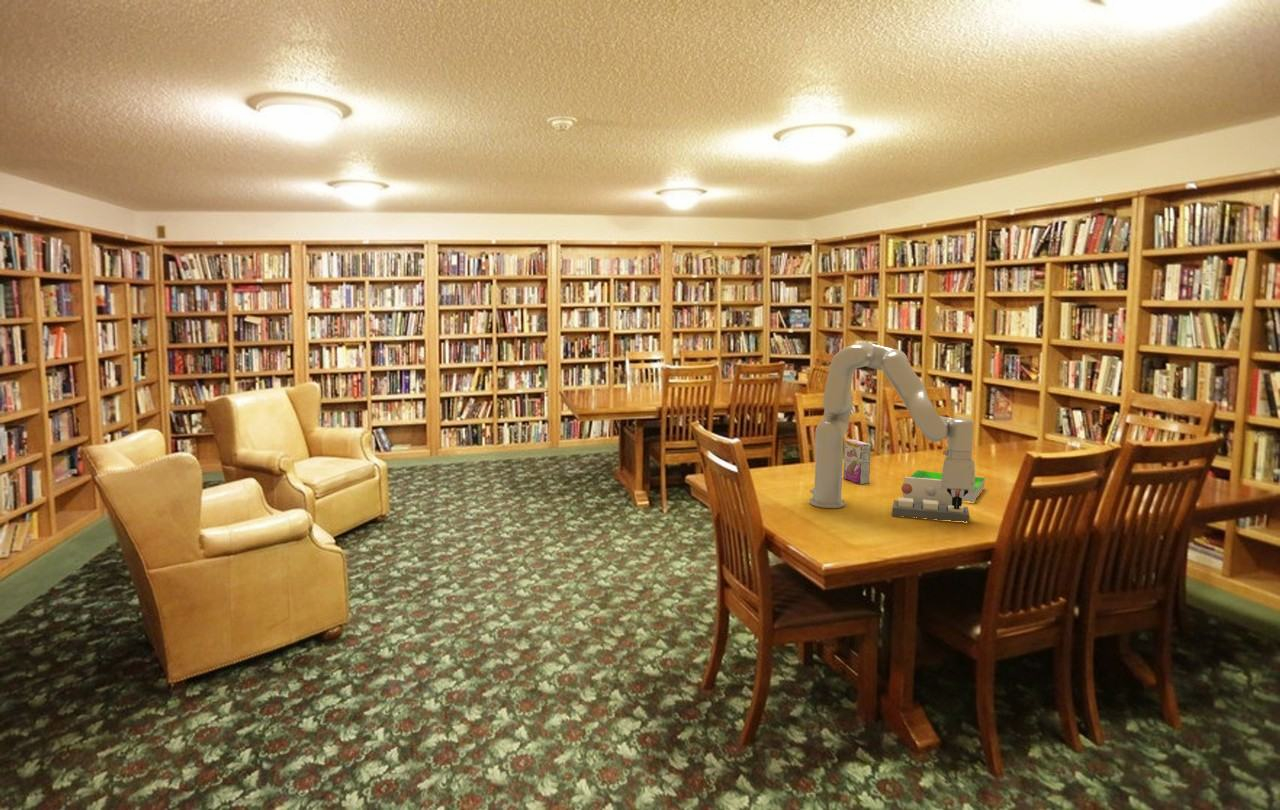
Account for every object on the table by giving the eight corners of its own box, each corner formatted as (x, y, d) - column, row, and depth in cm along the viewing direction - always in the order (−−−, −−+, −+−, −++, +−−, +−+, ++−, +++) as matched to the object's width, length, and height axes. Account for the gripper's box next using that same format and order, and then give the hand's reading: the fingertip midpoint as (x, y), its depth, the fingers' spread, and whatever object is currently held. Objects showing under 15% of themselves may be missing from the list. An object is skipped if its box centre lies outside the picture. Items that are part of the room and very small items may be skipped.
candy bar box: (842, 478, 303) (843, 439, 300) (852, 477, 304) (853, 438, 302) (859, 484, 292) (861, 444, 290) (869, 483, 294) (871, 443, 292)
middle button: (922, 511, 249) (922, 503, 248) (922, 507, 253) (923, 499, 253) (937, 513, 247) (938, 504, 246) (937, 509, 251) (938, 500, 251)
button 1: (897, 509, 252) (898, 500, 251) (898, 505, 256) (898, 497, 256) (912, 510, 250) (912, 502, 249) (912, 506, 254) (913, 498, 254)
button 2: (947, 517, 246) (948, 509, 246) (947, 513, 250) (947, 505, 250) (963, 519, 244) (963, 510, 244) (962, 515, 249) (963, 506, 248)
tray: (983, 490, 285) (984, 478, 285) (973, 505, 265) (974, 492, 264) (917, 482, 299) (917, 470, 298) (902, 495, 278) (903, 483, 277)
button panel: (892, 516, 250) (893, 484, 249) (894, 505, 262) (895, 476, 261) (968, 523, 241) (970, 491, 240) (966, 512, 254) (968, 482, 252)
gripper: (935, 455, 243) (932, 508, 246) (984, 458, 238) (981, 513, 241) (935, 451, 250) (932, 503, 253) (983, 454, 245) (980, 507, 247)
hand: (956, 507), depth 247 cm, fingers closed
